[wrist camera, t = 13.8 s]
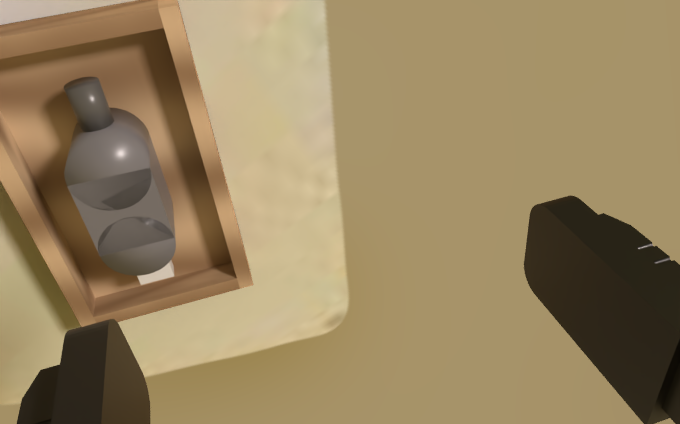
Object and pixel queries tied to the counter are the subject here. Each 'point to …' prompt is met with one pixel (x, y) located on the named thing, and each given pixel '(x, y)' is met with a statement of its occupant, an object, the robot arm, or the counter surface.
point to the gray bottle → (119, 186)
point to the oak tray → (166, 134)
